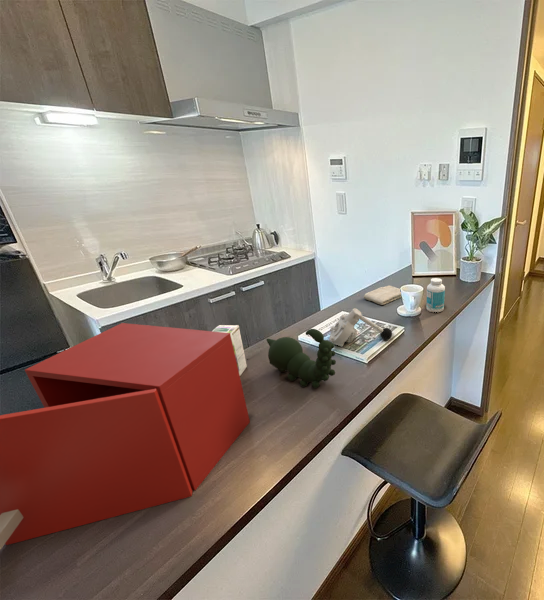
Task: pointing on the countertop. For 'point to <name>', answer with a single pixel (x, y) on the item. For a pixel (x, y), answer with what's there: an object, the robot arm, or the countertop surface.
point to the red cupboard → (158, 384)
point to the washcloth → (383, 295)
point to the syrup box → (235, 344)
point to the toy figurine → (302, 359)
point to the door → (85, 464)
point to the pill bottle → (435, 295)
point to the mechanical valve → (346, 328)
